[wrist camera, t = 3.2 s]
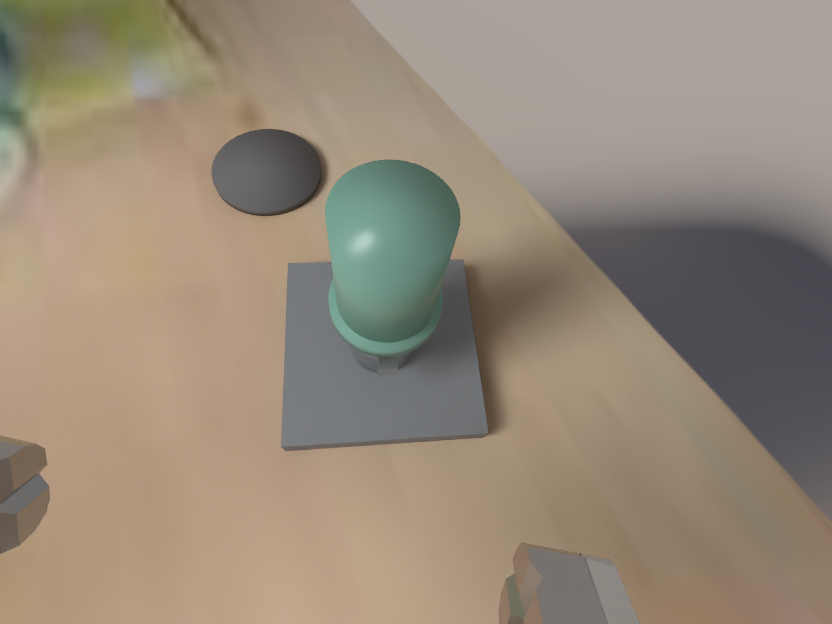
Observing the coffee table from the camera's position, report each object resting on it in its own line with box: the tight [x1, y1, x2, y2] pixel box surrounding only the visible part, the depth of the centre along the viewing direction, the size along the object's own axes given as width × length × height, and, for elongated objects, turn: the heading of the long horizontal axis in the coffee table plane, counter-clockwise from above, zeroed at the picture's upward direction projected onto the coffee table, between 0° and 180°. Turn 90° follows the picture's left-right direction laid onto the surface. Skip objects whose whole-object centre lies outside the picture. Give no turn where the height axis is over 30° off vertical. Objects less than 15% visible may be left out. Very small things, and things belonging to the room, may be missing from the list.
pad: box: [212, 129, 321, 216], centre depth 36 cm, size 8×8×1 cm
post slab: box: [281, 260, 488, 451], centre depth 30 cm, size 12×12×2 cm
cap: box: [325, 160, 460, 357], centre depth 21 cm, size 6×6×8 cm
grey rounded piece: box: [351, 347, 413, 376], centre depth 27 cm, size 4×6×6 cm, turn 5°
